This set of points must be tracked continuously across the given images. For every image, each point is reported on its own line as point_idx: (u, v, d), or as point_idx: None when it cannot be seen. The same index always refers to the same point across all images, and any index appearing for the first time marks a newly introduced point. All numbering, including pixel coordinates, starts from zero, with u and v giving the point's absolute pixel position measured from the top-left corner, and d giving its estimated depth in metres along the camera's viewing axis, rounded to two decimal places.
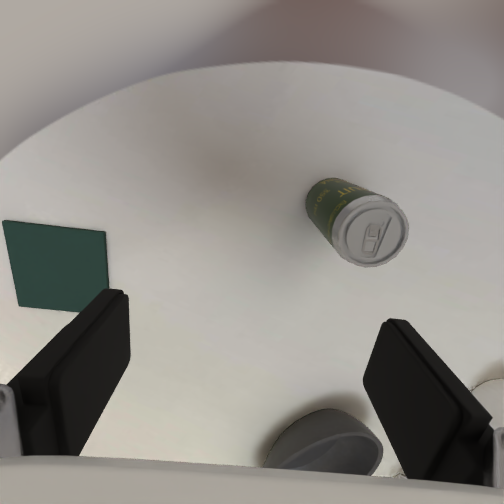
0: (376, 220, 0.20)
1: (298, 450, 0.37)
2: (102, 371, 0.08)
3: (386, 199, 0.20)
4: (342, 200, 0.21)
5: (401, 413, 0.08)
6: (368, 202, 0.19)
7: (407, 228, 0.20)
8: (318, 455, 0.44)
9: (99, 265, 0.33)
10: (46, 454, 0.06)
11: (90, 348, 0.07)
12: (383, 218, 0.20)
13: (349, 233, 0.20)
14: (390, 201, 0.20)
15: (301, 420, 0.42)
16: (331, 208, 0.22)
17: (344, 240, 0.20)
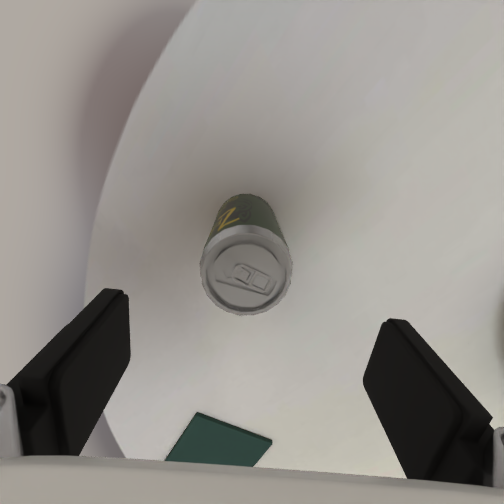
0: (230, 265, 0.15)
1: None
2: (102, 371, 0.08)
3: (211, 243, 0.15)
4: None
5: (401, 413, 0.08)
6: None
7: (253, 236, 0.14)
8: None
9: (223, 430, 0.36)
10: (46, 454, 0.06)
11: (90, 348, 0.07)
12: (229, 258, 0.15)
13: (231, 302, 0.16)
14: (215, 239, 0.15)
15: None
16: None
17: None
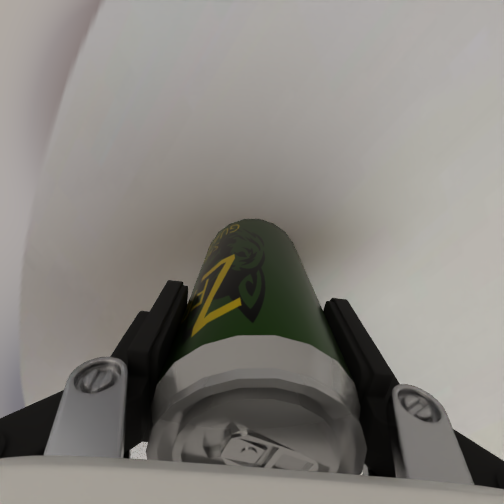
0: (217, 430, 0.06)
1: None
2: None
3: (171, 377, 0.06)
4: None
5: None
6: None
7: (276, 383, 0.05)
8: None
9: None
10: (145, 419, 0.07)
11: (171, 331, 0.08)
12: (215, 422, 0.06)
13: None
14: (181, 370, 0.06)
15: None
16: None
17: None
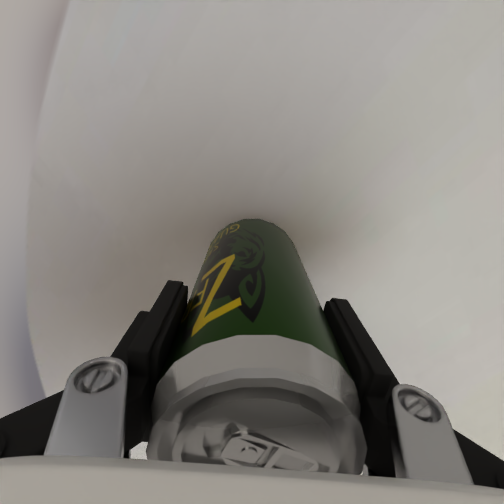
0: (217, 430, 0.06)
1: None
2: None
3: (172, 377, 0.06)
4: None
5: None
6: None
7: (276, 383, 0.05)
8: None
9: None
10: (144, 419, 0.07)
11: (171, 330, 0.08)
12: (216, 421, 0.06)
13: None
14: (181, 370, 0.06)
15: None
16: None
17: None
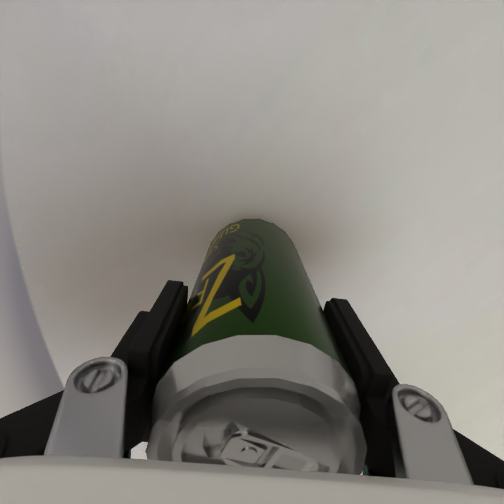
0: (217, 430, 0.06)
1: None
2: None
3: (171, 377, 0.06)
4: None
5: None
6: None
7: (276, 383, 0.05)
8: None
9: None
10: (144, 419, 0.07)
11: (171, 330, 0.08)
12: (216, 421, 0.06)
13: None
14: (181, 370, 0.06)
15: None
16: None
17: None
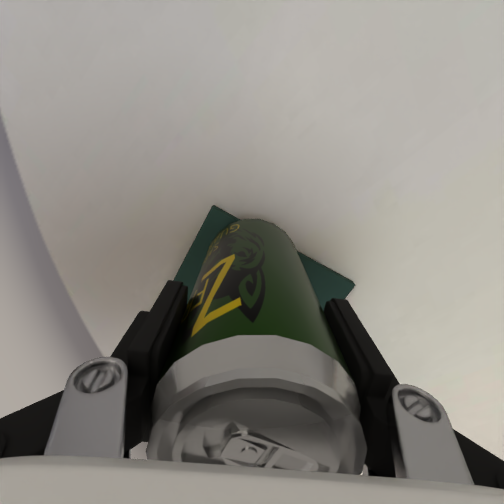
0: (217, 430, 0.06)
1: None
2: None
3: (171, 377, 0.06)
4: None
5: None
6: None
7: (276, 383, 0.05)
8: None
9: None
10: (145, 419, 0.07)
11: (171, 330, 0.08)
12: (216, 421, 0.06)
13: None
14: (181, 370, 0.06)
15: None
16: None
17: None
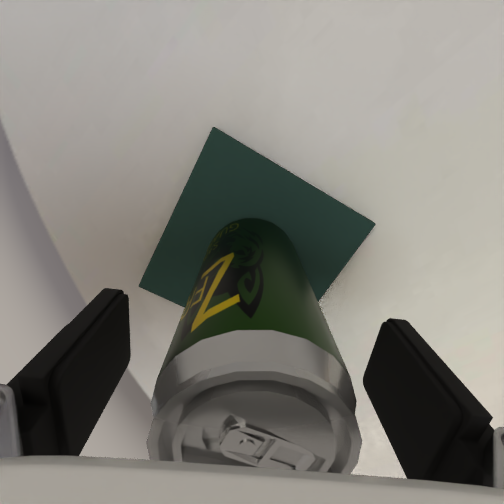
0: (216, 423, 0.07)
1: None
2: (102, 371, 0.08)
3: (171, 371, 0.07)
4: None
5: (401, 413, 0.08)
6: None
7: (273, 376, 0.06)
8: None
9: (272, 177, 0.16)
10: (46, 454, 0.06)
11: (90, 348, 0.07)
12: (214, 414, 0.06)
13: None
14: (181, 364, 0.06)
15: None
16: None
17: None
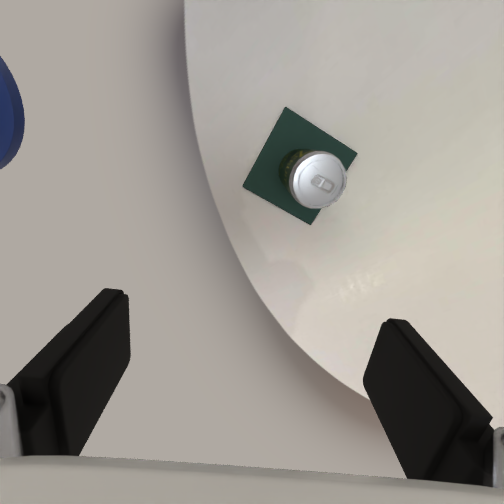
0: (309, 175, 0.26)
1: None
2: (102, 371, 0.08)
3: (298, 162, 0.26)
4: (288, 187, 0.28)
5: (401, 413, 0.08)
6: (293, 179, 0.26)
7: (326, 155, 0.25)
8: None
9: (310, 130, 0.35)
10: (46, 454, 0.06)
11: (90, 348, 0.07)
12: (310, 170, 0.26)
13: (309, 199, 0.26)
14: (301, 159, 0.26)
15: None
16: (291, 194, 0.29)
17: (314, 202, 0.27)
